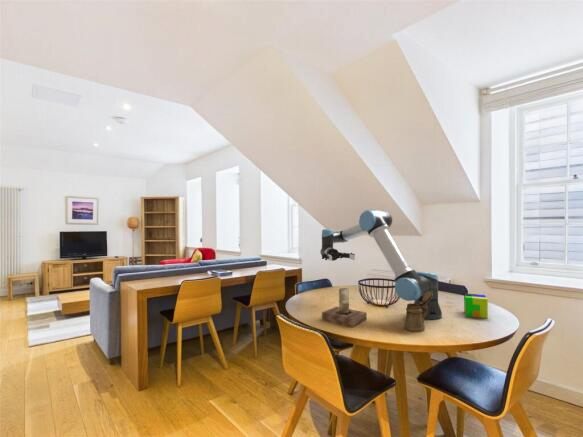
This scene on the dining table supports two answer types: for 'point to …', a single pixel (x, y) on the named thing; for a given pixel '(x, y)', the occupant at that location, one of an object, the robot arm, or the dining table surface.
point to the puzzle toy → (475, 305)
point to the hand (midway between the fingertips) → (342, 257)
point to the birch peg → (344, 301)
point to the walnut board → (344, 317)
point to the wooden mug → (417, 314)
